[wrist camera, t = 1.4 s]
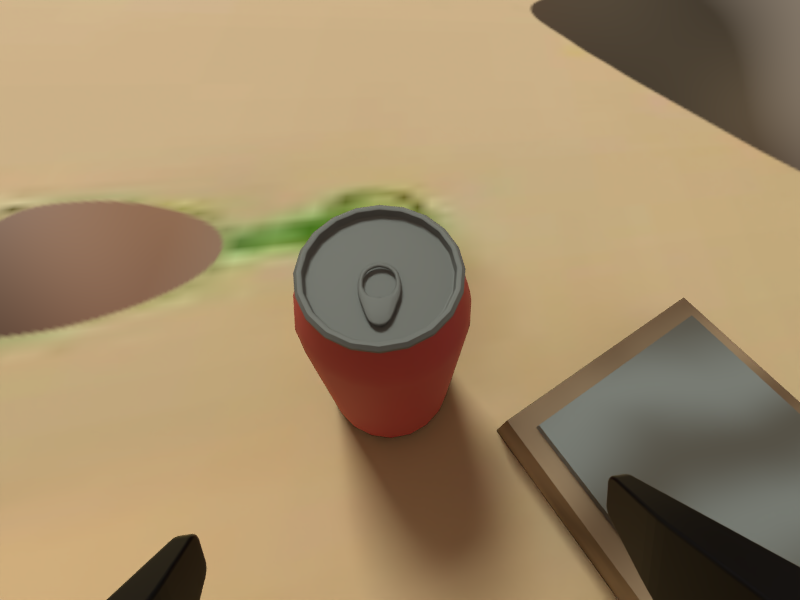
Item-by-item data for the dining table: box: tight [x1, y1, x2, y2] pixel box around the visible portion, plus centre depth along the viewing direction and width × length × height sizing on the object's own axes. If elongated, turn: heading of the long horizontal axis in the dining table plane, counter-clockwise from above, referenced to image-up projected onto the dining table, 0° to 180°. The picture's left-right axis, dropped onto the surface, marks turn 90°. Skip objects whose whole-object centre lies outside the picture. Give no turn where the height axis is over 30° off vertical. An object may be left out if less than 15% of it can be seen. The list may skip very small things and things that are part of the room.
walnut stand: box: [497, 298, 800, 600], centre depth 20 cm, size 13×13×3 cm
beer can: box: [293, 205, 471, 438], centre depth 18 cm, size 7×7×12 cm
